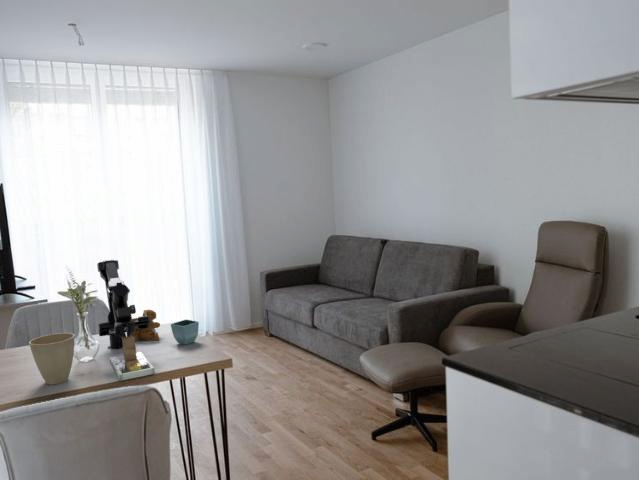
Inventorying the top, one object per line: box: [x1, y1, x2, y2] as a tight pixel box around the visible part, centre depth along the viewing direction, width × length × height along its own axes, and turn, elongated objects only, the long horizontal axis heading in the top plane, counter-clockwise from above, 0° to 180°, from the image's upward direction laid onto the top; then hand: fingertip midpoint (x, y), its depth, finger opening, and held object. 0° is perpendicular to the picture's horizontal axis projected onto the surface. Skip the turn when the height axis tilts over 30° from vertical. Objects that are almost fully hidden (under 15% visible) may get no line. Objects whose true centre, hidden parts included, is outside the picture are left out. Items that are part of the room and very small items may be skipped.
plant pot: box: [28, 332, 76, 385], centre depth 202 cm, size 15×15×16 cm
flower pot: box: [170, 319, 200, 346], centre depth 242 cm, size 9×9×9 cm
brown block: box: [122, 336, 139, 371], centre depth 210 cm, size 8×4×11 cm, turn 28°
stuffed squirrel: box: [131, 309, 161, 342], centre depth 252 cm, size 10×14×13 cm
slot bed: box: [109, 351, 149, 375], centre depth 215 cm, size 18×12×2 cm, turn 27°
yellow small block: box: [127, 362, 142, 373], centre depth 204 cm, size 5×4×3 cm
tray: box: [115, 361, 156, 381], centre depth 203 cm, size 8×12×3 cm
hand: (128, 344), depth 213 cm, fingers closed, pressing on brown block
